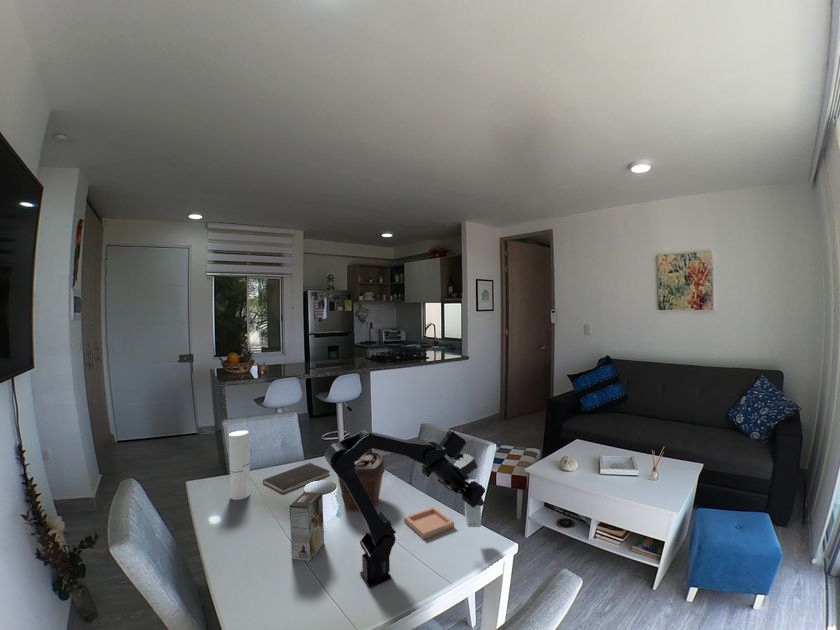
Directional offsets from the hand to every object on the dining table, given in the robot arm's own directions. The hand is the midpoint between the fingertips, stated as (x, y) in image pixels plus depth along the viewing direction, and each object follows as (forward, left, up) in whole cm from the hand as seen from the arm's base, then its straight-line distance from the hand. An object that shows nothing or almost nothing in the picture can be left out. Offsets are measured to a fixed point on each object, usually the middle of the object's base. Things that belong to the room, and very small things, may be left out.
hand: (476, 499), depth 121 cm
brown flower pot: (-19, +44, -13) cm, 50 cm away
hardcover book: (-34, +80, -14) cm, 88 cm away
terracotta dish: (-7, +16, -13) cm, 22 cm away
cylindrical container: (-57, +77, -13) cm, 97 cm away
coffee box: (-45, +25, -13) cm, 53 cm away
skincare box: (-1, +1, -7) cm, 7 cm away
